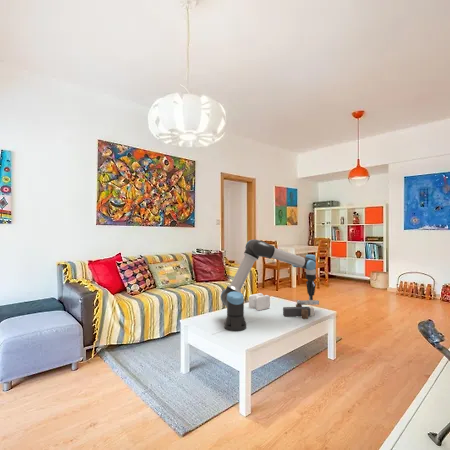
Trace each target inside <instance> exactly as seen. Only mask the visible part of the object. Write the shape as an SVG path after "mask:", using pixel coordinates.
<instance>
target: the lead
mask: <svg viewBox="0 0 450 450" xmlns="http://www.w3.org/2000/svg"><path fill="white" fill-rule="evenodd" d="M301 309H307V310H308V317H315V308H314V307H313V306H302V307H296V306H283V308H282V315H283V317H284V318H288V317H289V318H291V317H292V318H293V317H295V318H296V316H298V317H301Z"/></svg>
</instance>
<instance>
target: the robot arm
mask: <svg viewBox="0 0 450 450" xmlns="http://www.w3.org/2000/svg"><path fill="white" fill-rule="evenodd" d="M243 254H244V257H243V259H242V261H241V263H240V264H239V266H238V269H237V270H236V273H235V274H234V276H233V279H232V281H231V283H230V284H229V285H227V286H226V288H225V289H224V290H223V291H222V292H221V294H220V300H221V303H222V304H223V305H224V306H225V307H226V319H225V321H224V329H225V330H228V331H232V332H241V331H244V330H245V329H247V321H246V319H245V314H244V313H245V310H244V309H245V305H244V304H245V303H244V301H245V298H244V294H243V293H242V289H243V286H244V284H245V282H246V280H247V278H248V275H249V273H250V272H251V270H252V268H253V265H254V264H255V262H256V261H258V260H259V258H262V257H263V258H267V259H275V260H277V261H280V262H283V263H286V264H289V265H292V267H293V268H301V269H304V270H305V279H306V280H307V281H305V284H306V291H307V292H306V293H307V294H308V300H309V304H313V300H314V296H315V293H316V292H315V291H316V285H317V284H316V283H315V280H316V278H317V276H316V274H317V272H316V269H317V260H316V259H317V257H316V255H315V254H306V255H305V257H303V256H301V255H297V254H294V253H291V252H289V251H285V250H283V249H279V248H276V247H275V246H274V245H273V244H270V243H268V242H265V241H264V240H261V239H260V240H259V239H255V238H254V239H250V240H247V242H246V244H245V250H244V253H243Z"/></svg>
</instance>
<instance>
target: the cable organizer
mask: <svg viewBox="0 0 450 450" xmlns="http://www.w3.org/2000/svg"><path fill="white" fill-rule="evenodd" d="M270 306H271V296H270V295H268V294H265V295H264V294H263V293H262V292H259V293H254V294H250V295H249V296H248V308H250V309H255V310H257V311H264V310H268V309H270Z"/></svg>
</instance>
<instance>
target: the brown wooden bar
mask: <svg viewBox="0 0 450 450" xmlns="http://www.w3.org/2000/svg"><path fill="white" fill-rule="evenodd" d="M295 307H303V305H297V303H296V304H295ZM300 317H301V319H303V320H308V319H309V316H308V310H307V309H301V316H300Z"/></svg>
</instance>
